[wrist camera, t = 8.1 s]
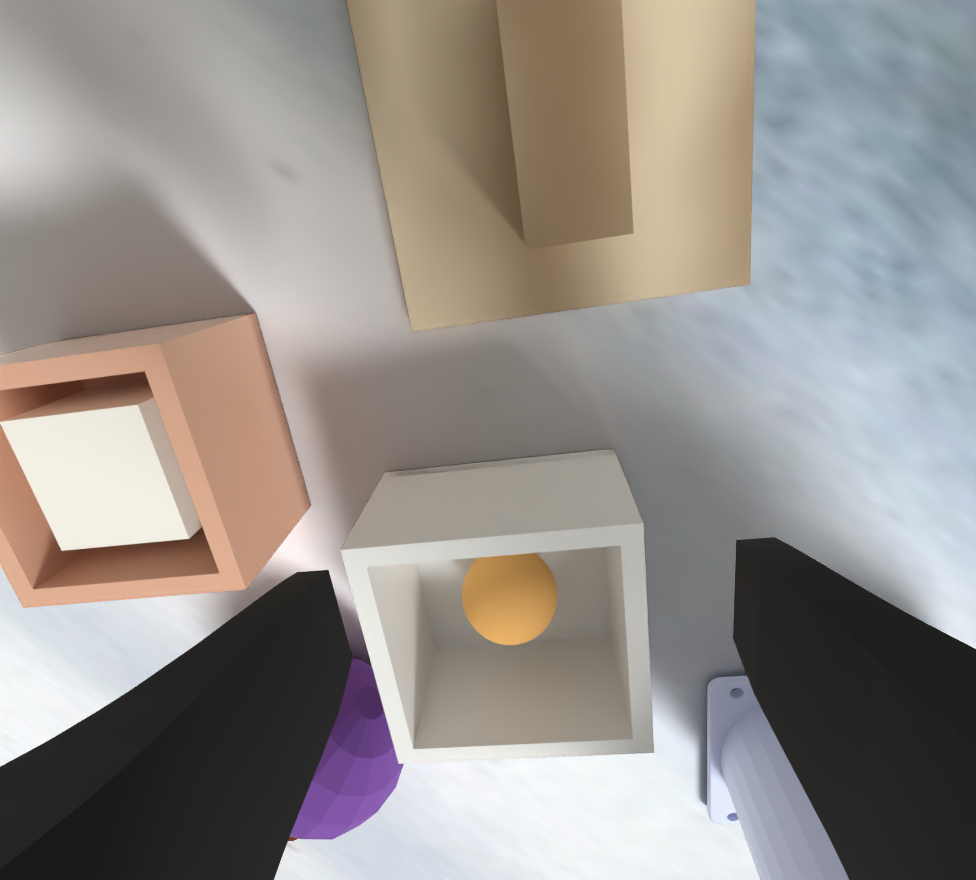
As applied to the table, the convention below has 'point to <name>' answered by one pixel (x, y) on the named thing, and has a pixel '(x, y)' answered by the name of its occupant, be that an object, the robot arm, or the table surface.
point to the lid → (560, 149)
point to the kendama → (351, 764)
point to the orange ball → (509, 597)
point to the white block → (104, 468)
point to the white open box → (485, 664)
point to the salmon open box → (198, 447)
